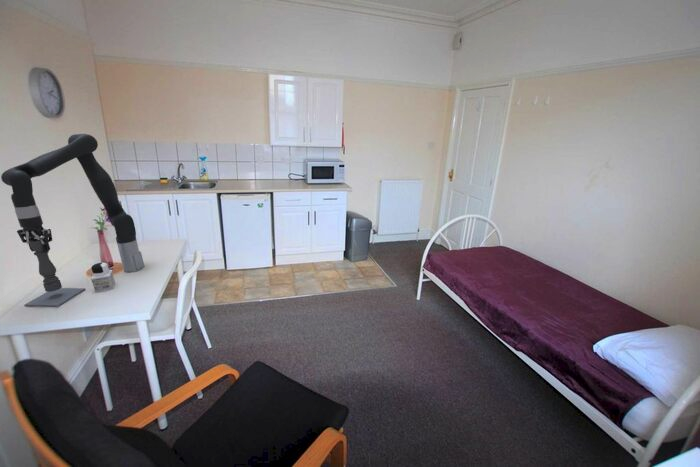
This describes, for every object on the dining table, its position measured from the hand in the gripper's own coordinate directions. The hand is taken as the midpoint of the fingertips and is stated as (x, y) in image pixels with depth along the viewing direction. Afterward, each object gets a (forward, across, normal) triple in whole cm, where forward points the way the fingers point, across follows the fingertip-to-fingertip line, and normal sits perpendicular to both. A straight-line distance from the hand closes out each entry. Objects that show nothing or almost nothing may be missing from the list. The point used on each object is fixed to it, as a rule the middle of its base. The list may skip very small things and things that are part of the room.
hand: (40, 250), depth 153 cm
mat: (+24, 0, 0) cm, 24 cm away
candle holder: (+20, 0, 0) cm, 20 cm away
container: (+25, -16, -11) cm, 31 cm away
